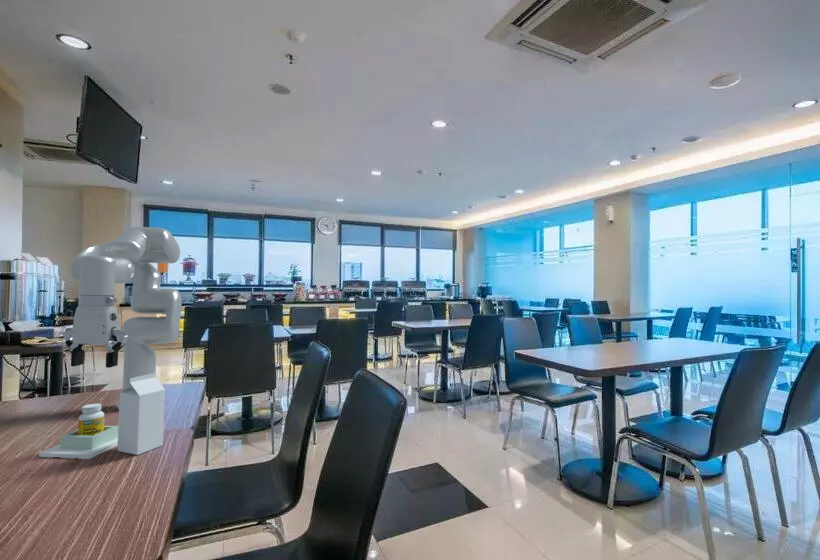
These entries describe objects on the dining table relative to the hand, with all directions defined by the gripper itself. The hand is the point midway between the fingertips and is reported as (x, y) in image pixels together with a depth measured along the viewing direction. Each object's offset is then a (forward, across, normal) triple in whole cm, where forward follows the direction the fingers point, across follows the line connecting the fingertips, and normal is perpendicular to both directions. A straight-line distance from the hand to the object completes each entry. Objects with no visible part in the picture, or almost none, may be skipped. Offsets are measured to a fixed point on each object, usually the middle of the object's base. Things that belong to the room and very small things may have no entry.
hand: (94, 366), depth 105 cm
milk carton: (+21, -14, +1) cm, 26 cm away
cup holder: (+21, 0, +1) cm, 21 cm away
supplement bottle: (+20, 0, 0) cm, 20 cm away
